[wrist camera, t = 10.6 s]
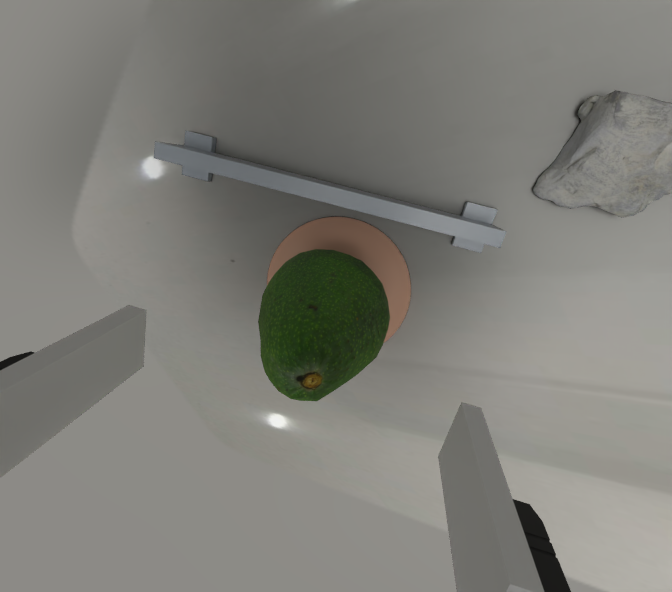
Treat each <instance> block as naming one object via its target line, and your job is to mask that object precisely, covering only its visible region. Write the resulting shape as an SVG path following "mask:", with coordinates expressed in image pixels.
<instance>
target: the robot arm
mask: <svg viewBox="0 0 672 592" xmlns="http://www.w3.org/2000/svg"><path fill="white" fill-rule="evenodd" d="M145 326H146V310H144V309H141V308H138V307H134V306H131V305H128V306H126V307H124V308H122V309H120V310H118V311H116V312H114V313H113V314H110V315H108V316H106V317H105V318H103V319H101V320H99V321H97V322H95V323H93V324H91V325H89V326H87V327H85V328H83V329H81V330H79V331H77V332H75V333H73V334H71V335H69V336H67V337H66V338H63V339H61V340H59V341H58V342H55V343H53V344H52V345H49V346H48V347H46V348H44V349H42V350H40V351H38V352H36V353H34V352H28V353H24V354H20V355H16V356H13V357H10V358H8V359H6V360H4V361H1V362H0V478H1V477H2V476H3V475H5V474H6V473H7V472H8V471H10V470H11V469H12V468H14V467H15V466H16V465H18V464H19V463H20V462H21V461H23V460H24V459H25V458H27V457H28V456H29V455H30V454H31V453H33V452H34V451H36V450H37V449H38V448H39V447H41V446H42V445H43V444H45V443H46V442H47V441H48V440H50V439H51V438H52V437H54V436H55V435H56V434H57V433H59V432H60V431H61V430H62V429H64V428H65V427H66V426H68V425H69V424H70V423H72V422H73V421H74V420H75V419H77V418H78V417H79V416H80V415H82V414H83V413H84V412H86V411H87V410H88V409H90V408H91V407H92V406H93V405H94V404H96V403H97V402H98V401H100V400H101V399H102V398H104V397H105V396H106V395H107V394H109V393H110V392H111V391H113V390H114V389H115V388H116V387H118V386H119V385H120V384H122V383H123V382H124V381H125V380H127V379H128V378H129V377H130V376H132V375H133V374H134V373H136V372H137V371H138V370H140V369H141V368H142V367H143V366H144V346H145ZM438 458H439V465H440V473H441V480H442V487H443V495H444V502H445V509H446V516H447V524H448V531H449V538H450V545H451V553H452V560H453V567H454V575H455V581H456V589H457V592H571V591H570V588H569V586H568V584H567V581H566V578H565V576H564V573H563V571H562V569H561V566H560V564H559V561H558V559H557V558H556V557H555V555H556V554H555V551H554V549H553V546H552V544H551V543H550V542H549V540H550V539H549V537H548V534H547V532H546V529H545V527H544V524H543V522H542V520H541V519H540V518H539V516H538V515H537V514H536V512H535V511H534V510H533V508H532V507H531V506H530V504H527V503H524V502H520V501H517V500H514V499H512V496H511V493H510V490H509V487H508V485H507V482H506V479H505V476H504V473H503V470H502V467H501V464H500V461H499V458H498V455H497V453H496V450H495V447H494V444H493V441H492V438H491V435H490V432H489V429H488V426H487V423H486V421H485V418H484V415H483V412H482V409H481V408H479V407H476V406H472V405H469V404H466V403H462V402H461V405H460V407H459V409H458V412H457V414H456V416H455V419H454V421H453V423H452V426H451V428H450V430H449V432H448V435H447V437H446V439H445V442H444V444H443V446H442V449H441V451H440V453H439V456H438Z"/></svg>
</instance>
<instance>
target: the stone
mask: <svg viewBox="0 0 672 592" xmlns="http://www.w3.org/2000/svg"><path fill="white" fill-rule="evenodd" d="M578 116H579V118H580V119H581V123H580V124H579V126H578V127H577V129H576V130H575V132H574V134H573V136H572V137H571V138H570V139H569V141H568V142H567V143H566V144H565V146H564V147H563V149H562V150H561V152H560V154H559V155H558V157H557V158H556V160H555V161H554V162H553V163H552V164H551V166H550V167H549V168H548V169H547V170H545V171H544V172H543V174H542V175H541V176H540V177H539V178H538V180H537V183H536V185H535V187H534V188H533V190H534V193H535V194H536V195H537V196H538V197H540V198H541V199H546V200H551V201H553V202H554V203H555V204H556V205H558V206H566V207H568V208H570V209H571V208H576V207H583V206H595V207H598V208H600V209H602V210H605V211H607V212H610V213H613V214H616V215H617V216H618V217H621V218H624V217H628V216H632V215H635V214H637V213H639V212H641V211H643V210H644V209H645V208H646V207H647V205H648V204H650V203H651V202H653V201H655V200H658V199H660V198H661V197H662V196H663V195H667V194H670V193H672V103H669V102H663V101H659V100H656V99H653V98H650V97H646V96H642V95H634V94H629V93H626V92H620V91H614V92H612V93H610V94H608V95H606V96H598V95H596V96H592V97H589V98H588V99H587V100H586V101H585V103H584V104H583V105H582V106H581V107H580V109H579V111H578Z"/></svg>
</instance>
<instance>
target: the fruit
mask: <svg viewBox="0 0 672 592" xmlns="http://www.w3.org/2000/svg"><path fill="white" fill-rule="evenodd" d="M389 321H390V313H389V305H388V299H387V296H386V293H385V290H384V287H383V284H382V283H381V281H380V280H379V279H378V277H377V276H376V275H375V273H374V272H373V271H372V270H371V269H370V268H369V267H368V266H367V265H366V264H365V263H364V262H363V261H361V260H359V259H357V258H355V257H353V256H351V255H349V254H345V253H342V252H338V251H335V250H325V249H314V250H310V251H306V252H302V253H299V254H297V255H296V256H294V257H292V258H291V259H289V260H288V261H286V262H285V263H284V264H283V265H282V266H281V267H280V269H279V270H278V271H277V272H276V273H275V274H274V276H273V277H272V278H271V280H270V281H269V283H268V285H267V287H266V289H265V291H264V293H263V296H262V302H261V308H260V315H259V321H258V323H259V331H260V339H261V358H262V362H263V366H264V370H265V373H266V374H267V376H268V378H269V380H270V381H271V382H272V384H273V385H274V386H275V387H276V389H277V390H278V391H279V392H281V393H283V394H284V395H286V396H287V397H289V398H291V399H295V400H301V401H318V400H320V399H321V398H323V397H324V396H326V395H328V394H329V393H331V392H332V391H334V390H335V389H337V388H338V387H340V386H341V385H343V384H344V383H346V382H347V381H349V380H350V379H352V378H353V377H354V376H356V375H357V374H358V373H359V372H360V371H362V370H363V369H364V368H365V367H366V366H367V365H368V364H369V363H370V362H371V361H373V360H374V359H375V358H376V357H377V355H378V353H379V351H380V349H381V347H382V345H383V343H384V340H385V337H386V334H387V331H388V327H389Z"/></svg>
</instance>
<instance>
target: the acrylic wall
mask: <svg viewBox="0 0 672 592" xmlns="http://www.w3.org/2000/svg"><path fill="white" fill-rule="evenodd" d="M215 147H216V138H214V137H210V136H206V135H202V134H198V133H194V132H190V131H186V132H185V143H184V145H177V144H170V143H163V142H156V141H155V149H154V158H155V159H159V160H163V161H167V162H171V163H175V164H179V165H182V175H185V176H189V177H193V178H197V179H201V180H205V181H212V173H213V174H217V175H221V176H225V177H229V178H232V179H236V180H240V181H244V182H248V183H252V184H255V185H259V186H263V187H267V188H271V189H275V190H279V191H282V192H286V193H290V194H294V195H298V196H302V197H305V198H309V199H313V200H317V201H321V202H325V203H329V204H332V205H336V206H340V207H344V208H348V209H352V210H355V211H359V212H363V213H367V214H371V215H375V216H379V217H382V218H386V219H390V220H394V221H398V222H402V223H405V224H409V225H413V226H417V227H421V228H425V229H429V230H432V231H436V232H440V233H444V234H448V235H452V236H454V238H453V240H452V243H451V244H452V245H453V246H457V247H461V248H464V249H468V250H472V251H476V252H480V253H481V252H482V249H483V247H484V244H486V245H490V246H494V247H498V248H500V247H501V245H502V242H503V240H504V237H505V234H506V231H504V230H502V229H500V228H498V227H496V226H494V225H492V223H493V220H494V218H495V215H496V213H497V209H494V208H490V207H486V206H482V205H478V204H474V203H470V202H466V203H465V206H464V209H463V212H462V215H461V216H459V215H455V214H451V213H448V212H444V211H440V210H436V209H432V208H428V207H424V206H420V205H416V204H412V203H409V202H405V201H401V200H397V199H393V198H389V197H385V196H381V195H377V194H373V193H369V192H366V191H362V190H358V189H354V188H350V187H346V186H342V185H338V184H334V183H330V182H327V181H323V180H319V179H315V178H311V177H307V176H303V175H299V174H295V173H291V172H287V171H284V170H280V169H276V168H272V167H268V166H264V165H260V164H256V163H252V162H248V161H245V160H241V159H237V158H233V157H229V156H225V155H221V154H217V153H215Z"/></svg>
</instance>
